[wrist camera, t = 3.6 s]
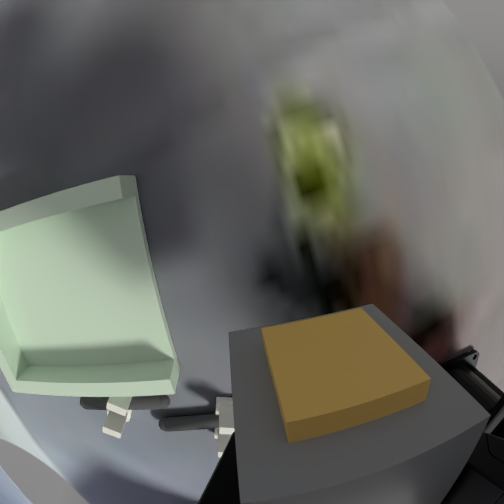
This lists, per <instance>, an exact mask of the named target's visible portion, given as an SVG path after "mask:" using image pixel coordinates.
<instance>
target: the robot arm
mask: <svg viewBox="0 0 504 504" xmlns="http://www.w3.org/2000/svg"><path fill="white" fill-rule="evenodd" d="M478 357H479V352H478V351H476V350H472V351H470V352H468V353H466V354H464V355H462V356H460V357H458V358H455V359H453V360H451V361H449V362H446V363H444V364H442V365H440V366H441V367H442V368H443V369H444V370H445V371H446V372H447V373H449V374H450V375H451V376H452V377H453V378H454V379H455V380H456V381H457V382H458V383H459V384H460V385H461V386H462V387H463V388H464V389H465V390H466V391H467V392H468V393H469V394H470V395H471V396H472V397H473V398H474V399H475V400H476V401H477V402H478V403H479V404H480V405H481V406H482V407H483V408H484V409H485V410H486V411H487V412H488V413H489V414H490V415H491V416H490V418H489V420H488V422H487V424H486V426H485V429H484V431H483V433H482V435H481V437H480V439H479V441H478V443H477V445H476V446H475V448H474V450H473V452H472V454H471V456H470V457H469V459H468V461H467V463H466V464H465V466H464V468H463V470H462V471H461V473H460V475H459V476H458V478H457V479H456V481H455V482H454V484H453V486H452V487H451V489H450V490H449V492H448V493H447V495H446V496H445V497H444V499H443V500H442V502H441V503H440V504H504V393H503V392H502V391H501V390H500V389H499V388H498V387H497V386H496V385H494V384H493V383H492V382H491V381H490V380H489V379H488V378H486V377H485V376H484V375H483V374H482V373H481V372H479V371H478V370H477V369H476V364H477V361H478ZM197 504H241V503H240V493H239V481H238V469H237V457H236V444H235V431H234V432H233V433H232V435H231V437H230V439H229V441H228V444H227V446H226V448H225V450H224V452H223V454H222V456H221V458H220V460H219V462H218V464H217V466H216V468H215V470H214V472H213V474H212V476H211V478H210V480H209V482H208V484H207V486H206V488H205V490H204V492H203V494H202V496H201V498H200V500H199V501H198V503H197Z"/></svg>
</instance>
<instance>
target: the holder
mask: <svg viewBox="0 0 504 504" xmlns="http://www.w3.org/2000/svg"><path fill="white" fill-rule="evenodd" d="M0 367H1V370H2V372H3V373H4V375H5V377H6V379H7V381H8V383H9V385H10V387H11V389H12V390H13V392H20V393H30V394H41V395H56V396H78V397H129V396H153V395H168V394H175V392H176V386H177V381H178V376H179V371H180V366H179V363H178V359H177V356H176V353H175V349H174V346H173V343H172V339H171V336H170V332H169V329H168V325H167V322H166V318H165V314H164V311H163V307H162V303H161V299H160V295H159V291H158V287H157V283H156V279H155V274H154V270H153V266H152V261H151V257H150V252H149V248H148V243H147V238H146V233H145V228H144V223H143V218H142V212H141V207H140V201H139V195H138V189H137V183H136V176H135V175H117V176H113V177H109V178H105V179H102V180H98V181H94V182H90V183H87V184H83V185H79V186H76V187H72V188H69V189H66V190H62V191H59V192H56V193H52V194H49V195H46V196H43V197H40V198H37V199H34V200H31V201H28V202H25V203H22V204H19V205H16V206H13V207H11V208H8V209H5V210H2V211H0Z"/></svg>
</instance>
